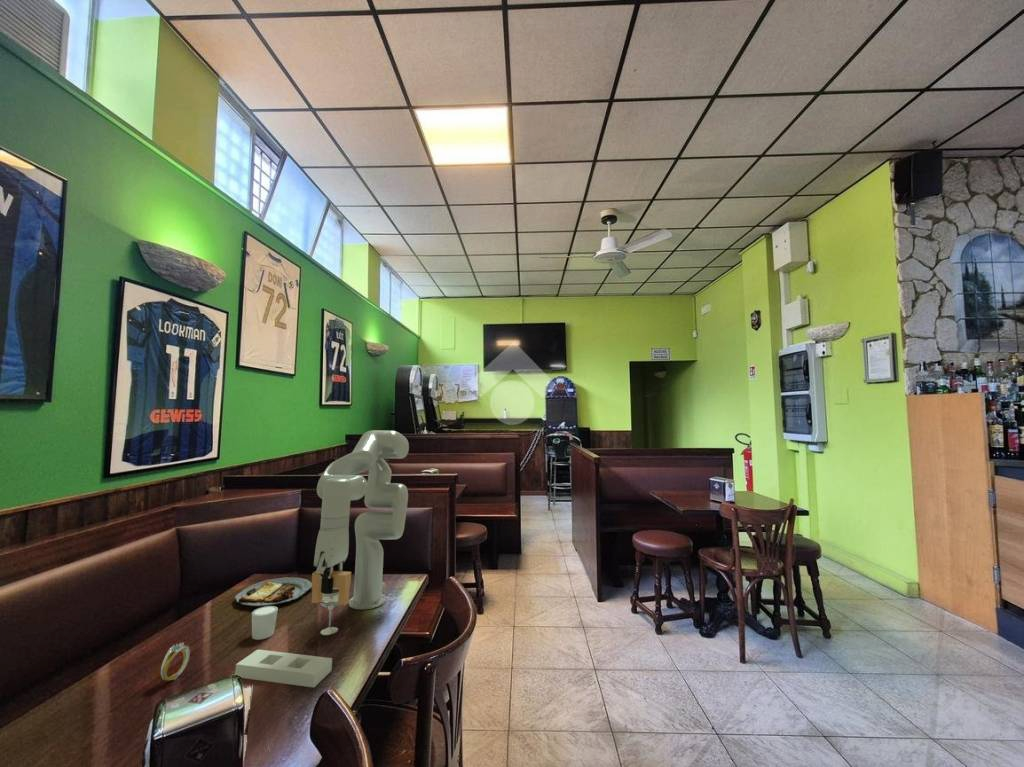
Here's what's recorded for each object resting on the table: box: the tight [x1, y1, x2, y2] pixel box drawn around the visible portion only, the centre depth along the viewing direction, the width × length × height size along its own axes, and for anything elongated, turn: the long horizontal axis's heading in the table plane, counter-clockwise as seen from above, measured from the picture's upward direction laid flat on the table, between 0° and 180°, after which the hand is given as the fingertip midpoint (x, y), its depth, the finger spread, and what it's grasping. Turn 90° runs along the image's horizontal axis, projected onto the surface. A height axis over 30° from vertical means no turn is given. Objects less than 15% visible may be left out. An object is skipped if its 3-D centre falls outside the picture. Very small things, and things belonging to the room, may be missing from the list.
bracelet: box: [160, 642, 191, 682], centre depth 101 cm, size 7×3×8 cm, turn 172°
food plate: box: [234, 576, 313, 608], centre depth 150 cm, size 25×23×4 cm
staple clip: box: [311, 569, 352, 606], centre depth 113 cm, size 3×10×8 cm, turn 81°
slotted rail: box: [234, 649, 333, 688], centre depth 103 cm, size 7×22×3 cm, turn 80°
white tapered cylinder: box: [251, 605, 279, 640], centre depth 122 cm, size 7×7×7 cm
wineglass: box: [319, 588, 339, 636], centre depth 125 cm, size 7×7×12 cm
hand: (330, 589), depth 113 cm, fingers closed on staple clip, 3 cm apart
